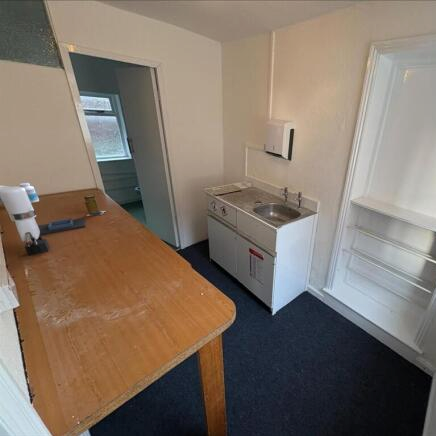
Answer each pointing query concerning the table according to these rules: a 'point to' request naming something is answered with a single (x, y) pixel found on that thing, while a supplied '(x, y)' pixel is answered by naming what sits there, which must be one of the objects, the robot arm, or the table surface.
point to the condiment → (92, 206)
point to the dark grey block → (43, 246)
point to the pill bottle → (30, 192)
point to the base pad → (61, 226)
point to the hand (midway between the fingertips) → (38, 248)
